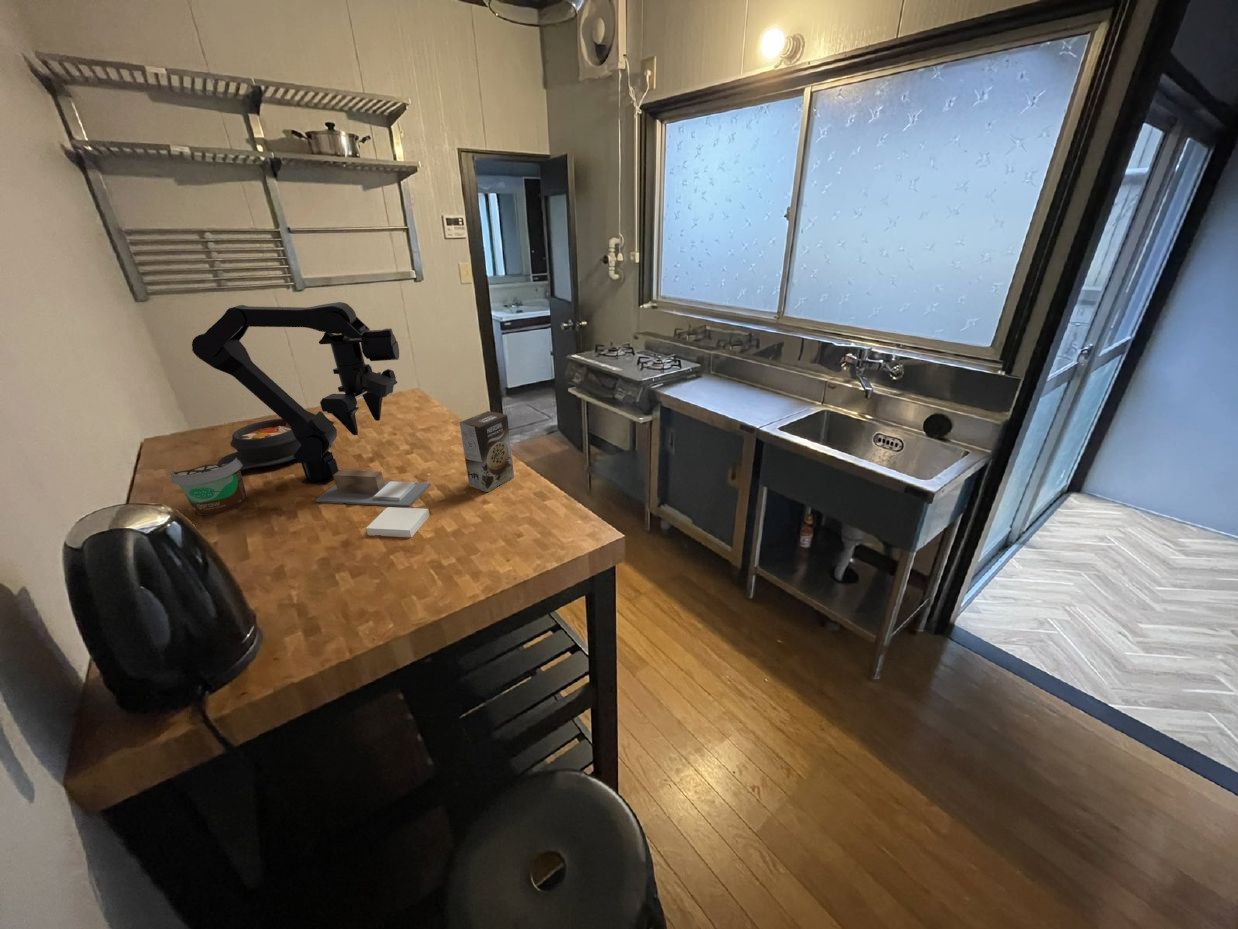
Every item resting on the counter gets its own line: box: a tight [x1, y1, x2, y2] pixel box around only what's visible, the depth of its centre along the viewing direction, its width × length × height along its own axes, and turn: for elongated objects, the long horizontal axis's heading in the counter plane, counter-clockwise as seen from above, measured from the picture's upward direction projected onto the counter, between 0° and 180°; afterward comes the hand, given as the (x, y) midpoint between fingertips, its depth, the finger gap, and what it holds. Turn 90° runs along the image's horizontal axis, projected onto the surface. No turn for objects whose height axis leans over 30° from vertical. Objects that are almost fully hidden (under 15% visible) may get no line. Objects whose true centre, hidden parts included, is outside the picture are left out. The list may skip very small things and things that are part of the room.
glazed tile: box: [365, 506, 430, 538], centre depth 100 cm, size 2×8×9 cm
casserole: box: [217, 418, 301, 471], centre depth 128 cm, size 25×19×8 cm
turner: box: [333, 469, 415, 501], centre depth 111 cm, size 16×7×4 cm, turn 84°
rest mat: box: [314, 480, 432, 508], centre depth 112 cm, size 22×10×1 cm, turn 84°
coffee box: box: [459, 410, 515, 493], centre depth 113 cm, size 9×6×16 cm
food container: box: [170, 458, 248, 516], centre depth 104 cm, size 12×6×10 cm, turn 117°
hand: (367, 427), depth 116 cm, fingers open, 9 cm apart
